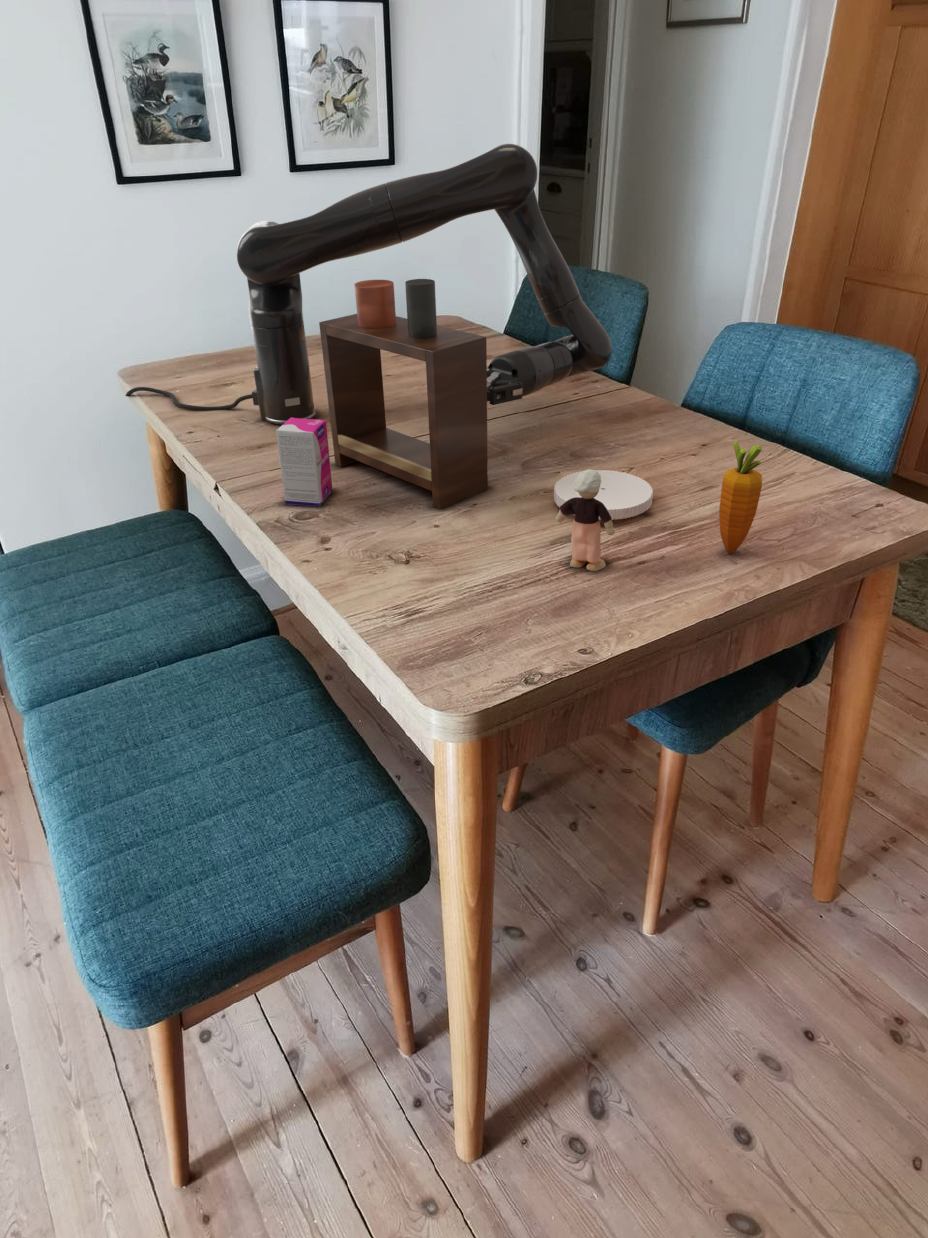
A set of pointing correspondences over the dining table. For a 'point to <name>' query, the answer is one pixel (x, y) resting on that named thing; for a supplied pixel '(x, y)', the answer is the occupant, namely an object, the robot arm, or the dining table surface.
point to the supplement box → (304, 461)
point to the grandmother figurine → (587, 521)
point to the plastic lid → (611, 493)
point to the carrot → (739, 498)
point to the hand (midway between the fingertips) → (448, 397)
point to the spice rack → (452, 391)
